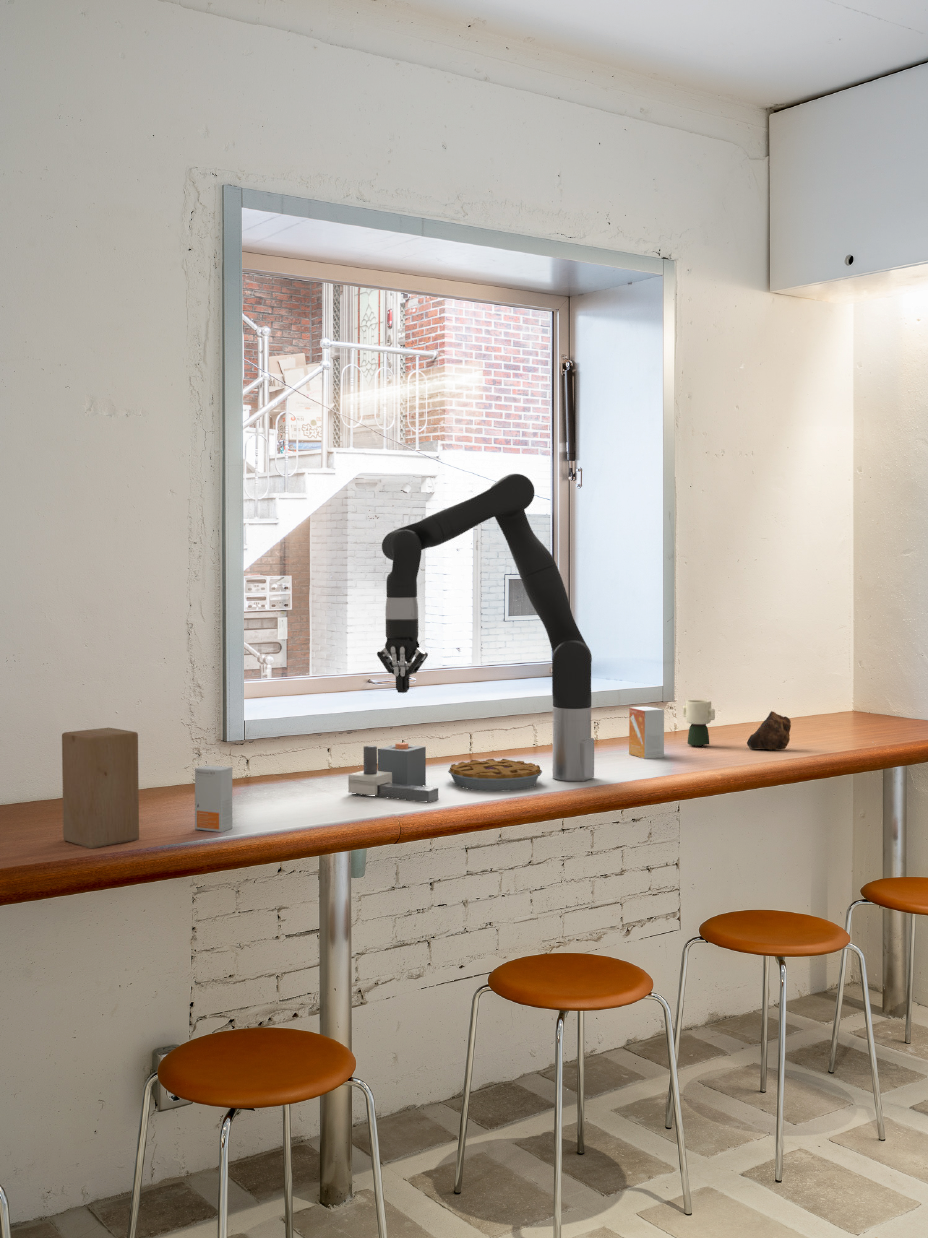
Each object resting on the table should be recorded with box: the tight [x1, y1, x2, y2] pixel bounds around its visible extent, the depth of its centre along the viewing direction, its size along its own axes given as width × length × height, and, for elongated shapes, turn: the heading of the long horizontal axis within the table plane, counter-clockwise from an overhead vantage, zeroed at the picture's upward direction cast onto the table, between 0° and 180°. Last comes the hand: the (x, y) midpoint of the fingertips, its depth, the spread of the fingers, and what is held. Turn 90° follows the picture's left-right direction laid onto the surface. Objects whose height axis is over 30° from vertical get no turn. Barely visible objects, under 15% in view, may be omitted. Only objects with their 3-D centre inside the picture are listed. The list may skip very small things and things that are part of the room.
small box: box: [628, 705, 665, 760], centre depth 306 cm, size 8×6×13 cm
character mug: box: [682, 699, 716, 747], centre depth 323 cm, size 11×7×13 cm, turn 42°
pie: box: [447, 758, 543, 792], centre depth 265 cm, size 22×22×5 cm
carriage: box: [347, 745, 392, 795], centre depth 252 cm, size 7×7×10 cm
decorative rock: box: [746, 710, 792, 751], centre depth 317 cm, size 12×6×11 cm, turn 83°
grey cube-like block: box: [377, 744, 427, 786], centre depth 261 cm, size 8×8×9 cm
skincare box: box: [194, 764, 233, 833], centre depth 217 cm, size 6×4×12 cm
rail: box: [355, 783, 439, 803], centre depth 249 cm, size 20×4×2 cm, turn 61°
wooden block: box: [61, 727, 140, 849], centre depth 208 cm, size 10×10×20 cm
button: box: [394, 742, 409, 750], centre depth 261 cm, size 3×3×4 cm
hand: (402, 692), depth 260 cm, fingers closed
